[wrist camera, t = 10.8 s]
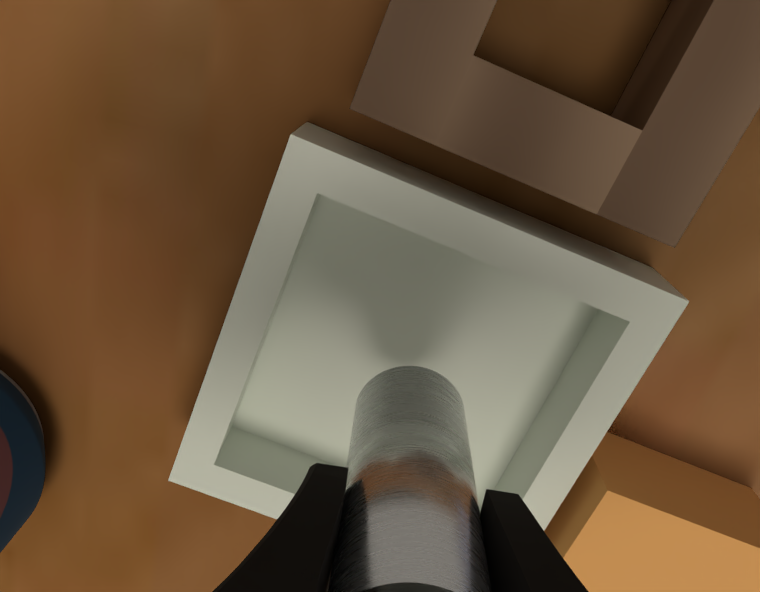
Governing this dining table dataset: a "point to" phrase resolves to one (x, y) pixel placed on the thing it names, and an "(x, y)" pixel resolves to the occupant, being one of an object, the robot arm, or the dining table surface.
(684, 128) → the socket block
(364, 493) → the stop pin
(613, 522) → the block
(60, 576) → the dining table surface
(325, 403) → the tray
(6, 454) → the soda can
